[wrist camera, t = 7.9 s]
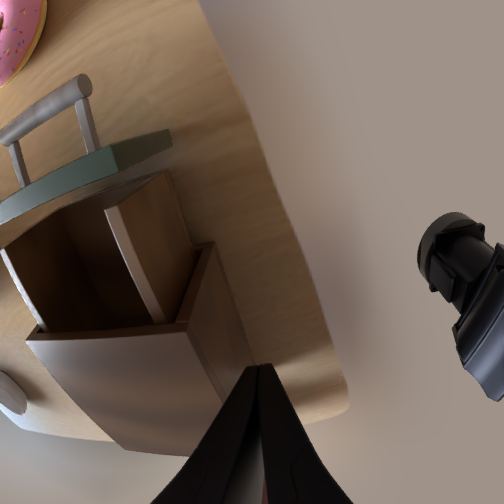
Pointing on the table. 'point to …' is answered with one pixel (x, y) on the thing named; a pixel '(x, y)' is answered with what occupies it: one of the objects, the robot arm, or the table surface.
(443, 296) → the robot arm
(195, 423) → the cabinet
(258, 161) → the table surface
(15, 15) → the doughnut
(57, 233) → the drawer
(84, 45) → the table surface
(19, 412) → the saucepan
